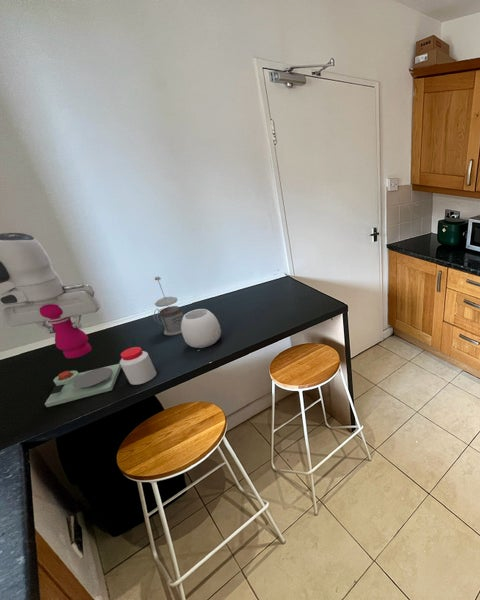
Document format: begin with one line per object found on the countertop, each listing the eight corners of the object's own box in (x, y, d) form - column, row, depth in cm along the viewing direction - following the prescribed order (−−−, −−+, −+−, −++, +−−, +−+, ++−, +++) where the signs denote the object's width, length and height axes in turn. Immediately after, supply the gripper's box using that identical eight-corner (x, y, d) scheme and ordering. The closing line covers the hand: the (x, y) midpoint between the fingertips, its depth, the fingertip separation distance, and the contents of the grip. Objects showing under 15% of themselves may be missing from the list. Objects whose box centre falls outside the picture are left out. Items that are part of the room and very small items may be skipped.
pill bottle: (136, 387, 105) (122, 361, 100) (124, 380, 108) (111, 354, 103) (161, 374, 111) (149, 349, 106) (149, 367, 114) (138, 342, 109)
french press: (195, 324, 141) (177, 273, 130) (173, 338, 131) (151, 284, 119) (177, 322, 143) (157, 271, 131) (153, 335, 133) (131, 282, 121)
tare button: (58, 381, 104) (56, 377, 103) (62, 376, 106) (59, 372, 105) (70, 378, 105) (68, 374, 104) (73, 373, 107) (71, 369, 107)
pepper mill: (79, 359, 97) (46, 302, 88) (56, 359, 97) (20, 302, 88) (99, 345, 103) (70, 291, 94) (78, 346, 103) (46, 291, 94)
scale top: (48, 397, 97) (47, 396, 96) (60, 378, 104) (60, 377, 104) (108, 382, 103) (108, 381, 103) (116, 365, 111) (115, 364, 110)
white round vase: (229, 341, 129) (220, 313, 123) (194, 356, 120) (183, 326, 114) (215, 330, 137) (207, 303, 131) (182, 343, 128) (171, 314, 122)
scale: (44, 407, 97) (39, 400, 95) (61, 380, 108) (57, 373, 106) (112, 390, 104) (108, 383, 102) (121, 366, 115) (118, 359, 113)
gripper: (92, 278, 97) (111, 317, 103) (-2, 292, 88) (25, 333, 94) (86, 286, 92) (106, 326, 98) (-15, 301, 83) (14, 344, 89)
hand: (65, 330), depth 96 cm, fingers closed on pepper mill, 4 cm apart
